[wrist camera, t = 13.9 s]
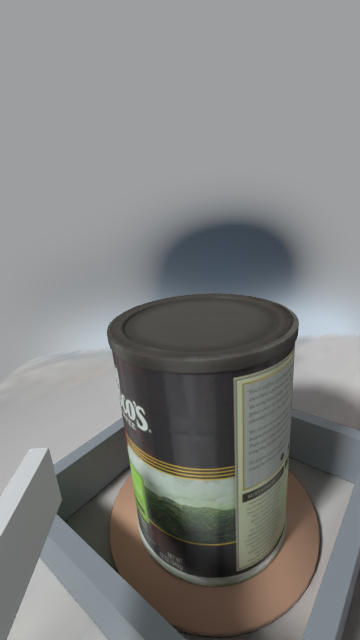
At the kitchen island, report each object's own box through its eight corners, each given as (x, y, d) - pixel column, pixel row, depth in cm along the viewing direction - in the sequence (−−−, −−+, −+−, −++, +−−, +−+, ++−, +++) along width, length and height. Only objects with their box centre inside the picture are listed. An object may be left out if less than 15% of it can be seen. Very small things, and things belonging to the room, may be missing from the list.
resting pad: (191, 423, 32) (191, 420, 32) (344, 490, 23) (345, 485, 23) (68, 533, 22) (66, 529, 22) (258, 723, 13) (258, 717, 13)
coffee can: (146, 614, 17) (105, 374, 12) (132, 468, 26) (106, 304, 22) (323, 561, 18) (346, 335, 14) (250, 443, 28) (249, 286, 23)
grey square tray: (187, 407, 34) (184, 374, 33) (381, 484, 23) (388, 439, 22) (25, 540, 21) (10, 494, 20) (287, 853, 10) (291, 798, 9)
